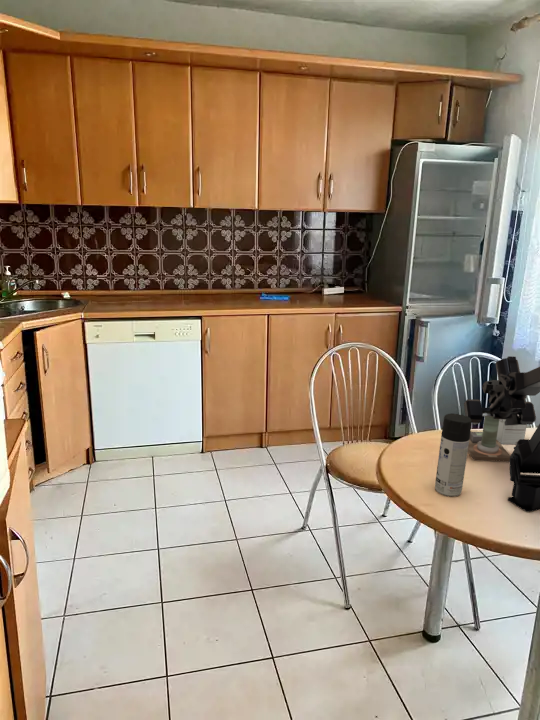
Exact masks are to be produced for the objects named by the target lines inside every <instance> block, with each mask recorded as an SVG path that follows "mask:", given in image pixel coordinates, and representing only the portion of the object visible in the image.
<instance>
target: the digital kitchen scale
mask: <svg viewBox="0 0 540 720" xmlns="http://www.w3.org/2000/svg"><path fill="white" fill-rule="evenodd" d="M482 433H483V431H472V430H471V431H470V439H469V445H468V452H467V454H468V455H469V454H470V455H469V456H470V457H471V459H472V460H473V461H482V462H483V461H484V462H503V463H504V462H505V463H507V462H508V463H510V462H509V460H510V456H511V453H509V452H508V451H507V449H505V447H504V446H503V444H501V443H500V442H499V441H498V440H497V439H496V444H498V445H499V451H498V453H496V454H487V453H483V452H481V451H479V450H478V449H477V443H478V442H479V441H481V440H482Z"/></svg>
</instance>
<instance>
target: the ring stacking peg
mask: <svg viewBox="0 0 540 720" xmlns="http://www.w3.org/2000/svg"><path fill="white" fill-rule="evenodd" d="M488 414H489V413H488ZM483 419H484V421H483V428H482V432H483V433H482V440H481V441H479V442H478V443H477V449H478V450H479V451H481V452H483V453H487V454H496V453H498V451H499V445H498V444H496V439H497V433H498V426H499V419H494V418H493V417H485V416H484V418H483Z"/></svg>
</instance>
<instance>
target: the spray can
mask: <svg viewBox="0 0 540 720" xmlns="http://www.w3.org/2000/svg"><path fill="white" fill-rule="evenodd" d="M442 421H443V422H442V429H441V435H440V441H439V442H440V444H439V451H438V459H437V466H436V476H435V483H434V490H435V491H436V492H437V493H438V494H440V495H441V496H444V497H448V496H449V497H450V498H454V497H458V496H460V495H461V494H462V492H463V487H464V485H463V484H464V480H465V479H464V477H465V471H466V465H467V458H468V445H469V439H470V431H472V424H473V423H472V420H471V418H469V417H467V416H465V414H464V415H463V414H460V413H459V414H458V413H447V414H445V415H444V416H443V420H442Z"/></svg>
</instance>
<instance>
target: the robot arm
mask: <svg viewBox="0 0 540 720" xmlns="http://www.w3.org/2000/svg"><path fill="white" fill-rule="evenodd" d="M495 368H496V374H497V379H491V380H487V381H484V382H483V384H482V390H483V391H482V392H483V393H484V394H488V395H489V399H488V402H489V404H491V405H489V407H483V406H482V401H481V400H480V399H474V398H473V399H471V398H470V399H469V398H468V399H466V400H465V401H464V403H463V409H464V416H467V417H469V418H471V420H472V423H471V424H473V425H478V424H481V422H483V419H484V418H485V417H493V418H494V419H506V421H505V426H509V425H533V424H534V423H535V422H536V420H537V416H536V410H535V406H534V405H535V404H533V402H531V401H526V399H527V396H530V397H532V396H533V397H534V396H535V397H536V396H537V395H538V394H539V393H540V366H538V367H536V368H533V369H531V370H529V371H526V372H524V371H523V372H521V369H520V364H519V361H518V359H517V357H516V356H513V355H512V356H507V357H506V358H502V359H500V360H497V361H496V362H495ZM488 413H489V414H488ZM510 455H511V456H510V460H509V462H508V463H509V471H508V472H509V481H511V482H513V484H512V492H511V496H509V497H507V501H509V502H510V503H511V504H514V505H515V506H516V507H518V508H520V509H522V510H523V511H525V512H526V513H530V512H531V513H532V512H535V511H540V423H539V424H538V426H537V427H536V429H535V430H534V432H533V434H532V435H531V437H530V439H520V440H519V441H518V442H517V445H514V446H513V451H512V453H510Z"/></svg>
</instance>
